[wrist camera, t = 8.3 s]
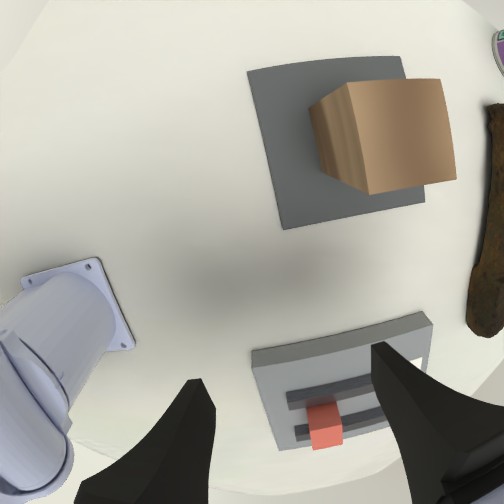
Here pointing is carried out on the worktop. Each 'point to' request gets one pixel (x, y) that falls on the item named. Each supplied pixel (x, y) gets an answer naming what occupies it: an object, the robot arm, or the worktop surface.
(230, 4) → the worktop surface
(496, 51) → the spray can
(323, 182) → the mat
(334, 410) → the lever
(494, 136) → the hand tool
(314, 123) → the tan wooden post
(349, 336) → the panel
